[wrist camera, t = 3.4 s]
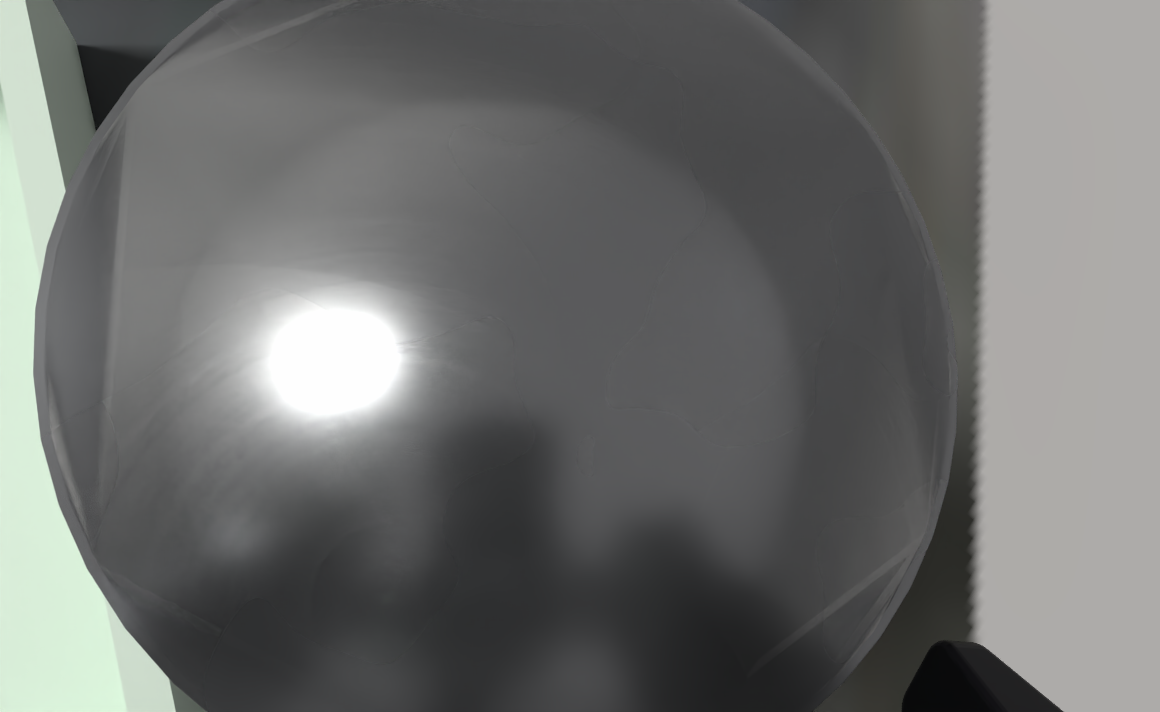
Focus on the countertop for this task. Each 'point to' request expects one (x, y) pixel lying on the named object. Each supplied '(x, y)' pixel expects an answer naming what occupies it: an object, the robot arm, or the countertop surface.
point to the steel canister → (495, 361)
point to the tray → (9, 410)
